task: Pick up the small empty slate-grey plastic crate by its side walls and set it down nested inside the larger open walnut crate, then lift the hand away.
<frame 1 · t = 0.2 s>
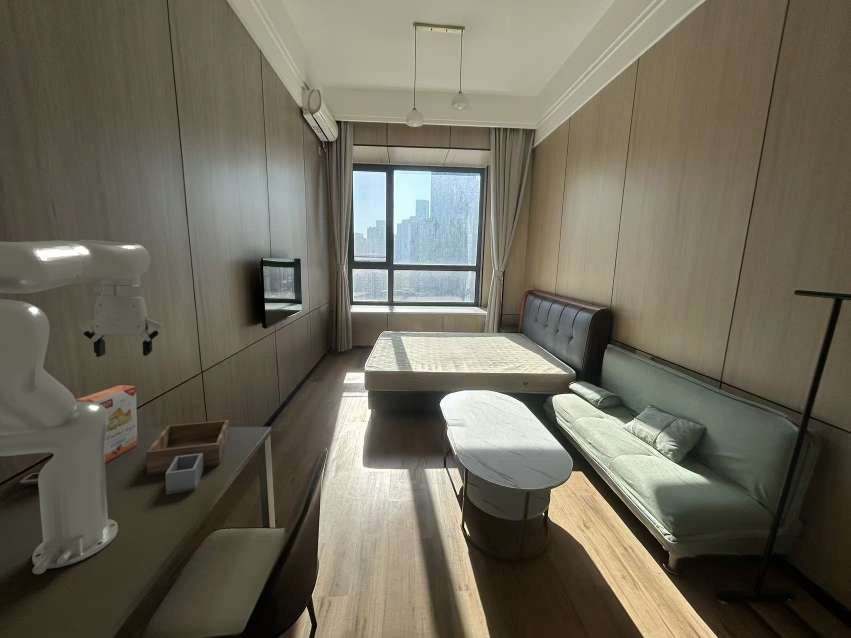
hand: (124, 355, 88), 36 cm above the table, tool pointing down, fingers open, 9 cm apart
cracker box: (110, 456, 103), on the table
small crate: (185, 482, 93), on the table
big crate: (192, 454, 107), on the table
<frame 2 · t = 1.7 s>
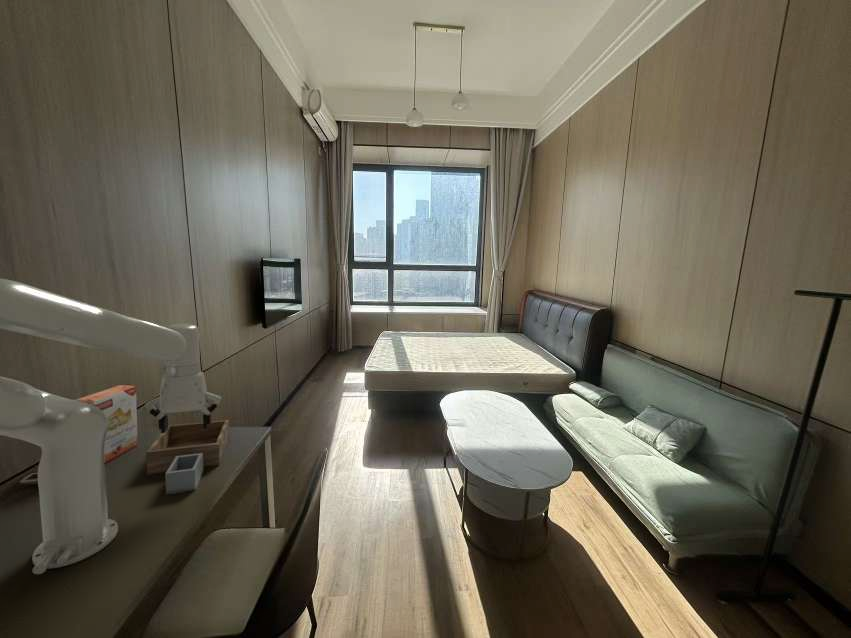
hand: (186, 428, 91), 16 cm above the table, tool pointing down, fingers open, 9 cm apart
nothing on the table moved.
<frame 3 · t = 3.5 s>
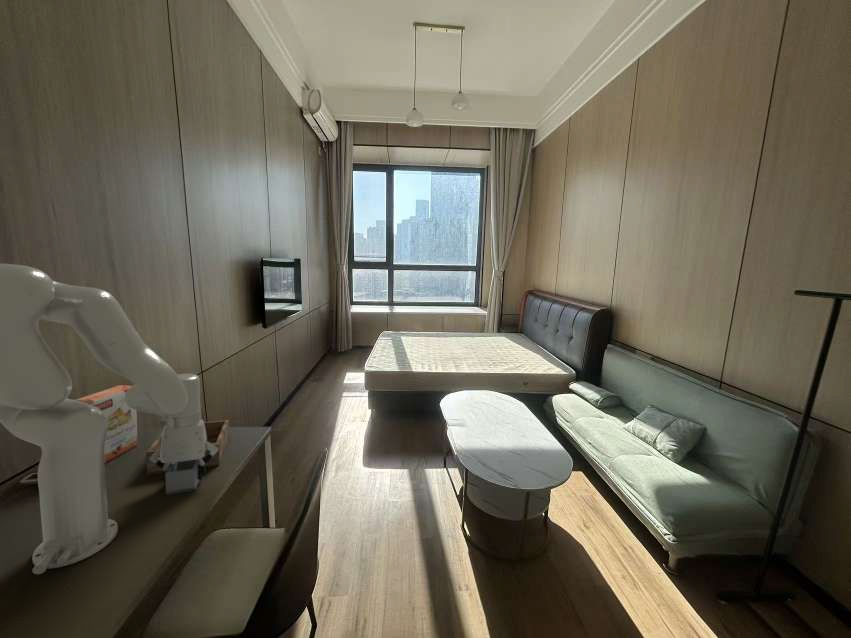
hand: (185, 478, 93), 1 cm above the table, tool pointing down, fingers closed on small crate, 6 cm apart
small crate: (185, 482, 93), on the table, touching gripper
everything else where it was.
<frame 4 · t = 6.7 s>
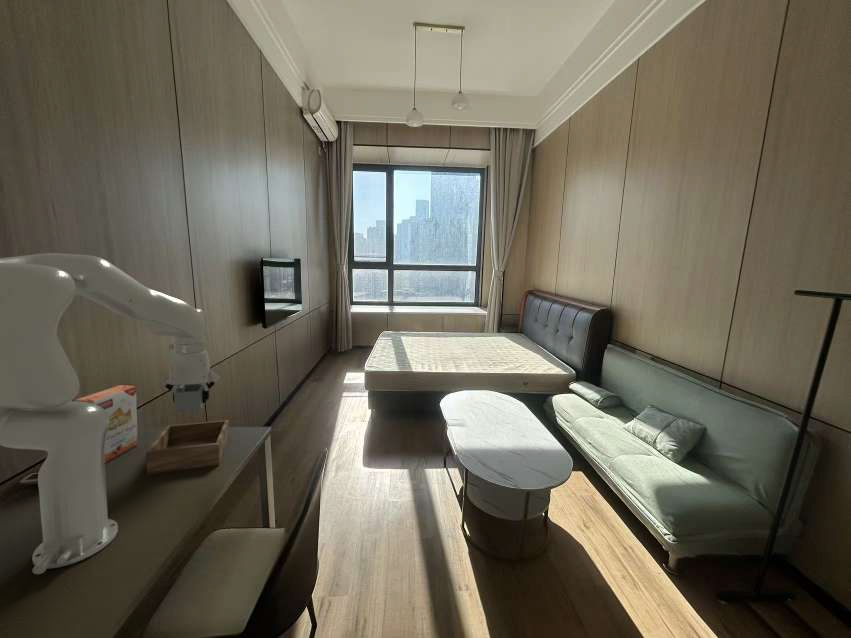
hand: (191, 402, 104), 18 cm above the table, tool pointing down, fingers closed on small crate, 6 cm apart
small crate: (191, 405, 105), point 17 cm above the table, touching gripper
everything else where it was.
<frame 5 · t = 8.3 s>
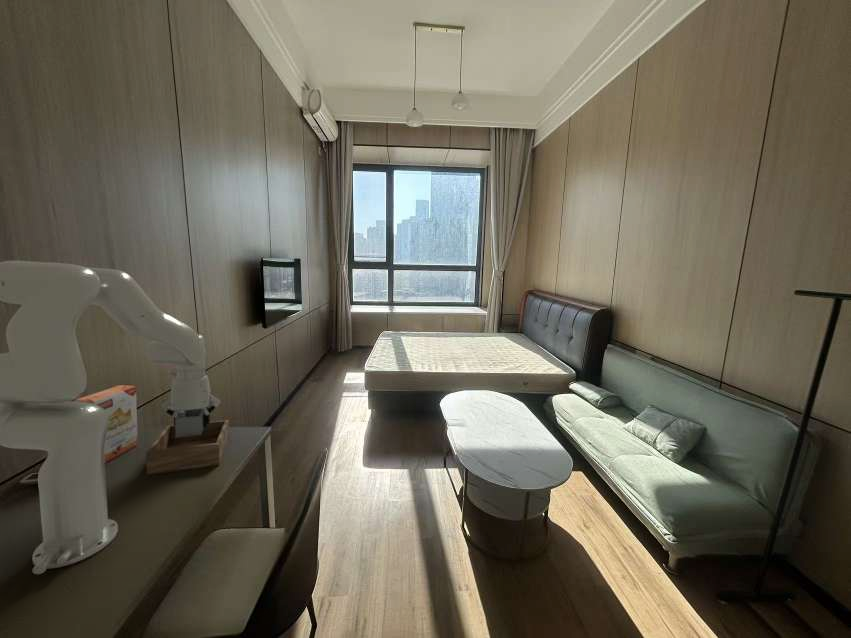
hand: (192, 426, 106), 10 cm above the table, tool pointing down, fingers closed on small crate, 6 cm apart
small crate: (192, 429, 106), point 8 cm above the table, touching gripper
everything else where it was.
when the fingers open (4 cm above the table, at t = 9.8 s): small crate drops 2 cm, resting on big crate.
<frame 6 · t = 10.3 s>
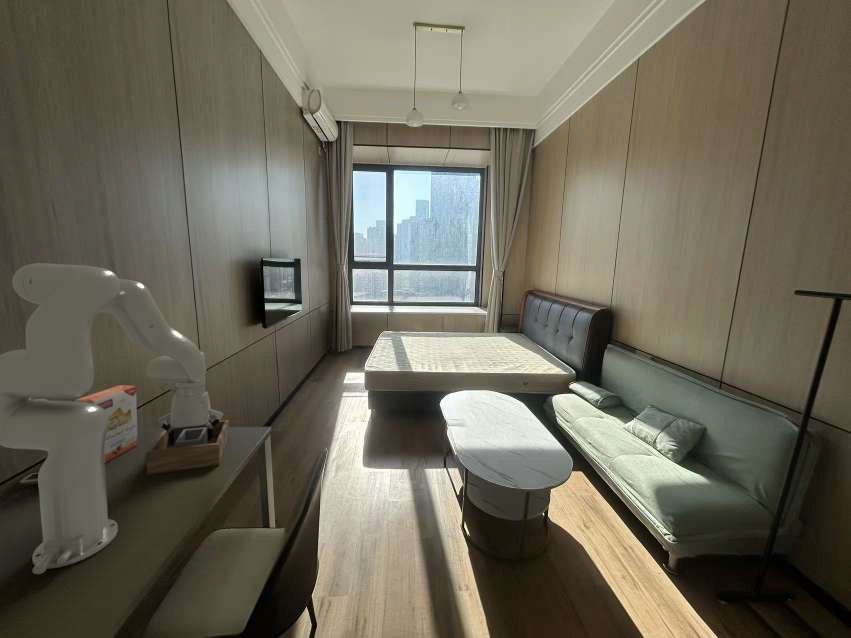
hand: (192, 440, 106), 5 cm above the table, tool pointing down, fingers open, 9 cm apart
small crate: (192, 451, 107), point 1 cm above the table, touching big crate
everything else where it was.
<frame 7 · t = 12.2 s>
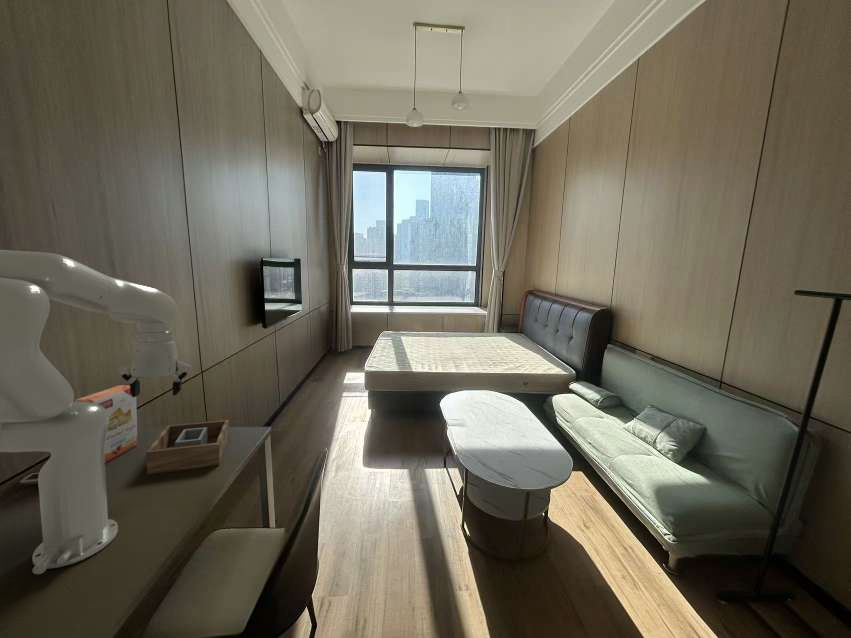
hand: (156, 394, 96), 23 cm above the table, tool pointing down, fingers open, 9 cm apart
nothing on the table moved.
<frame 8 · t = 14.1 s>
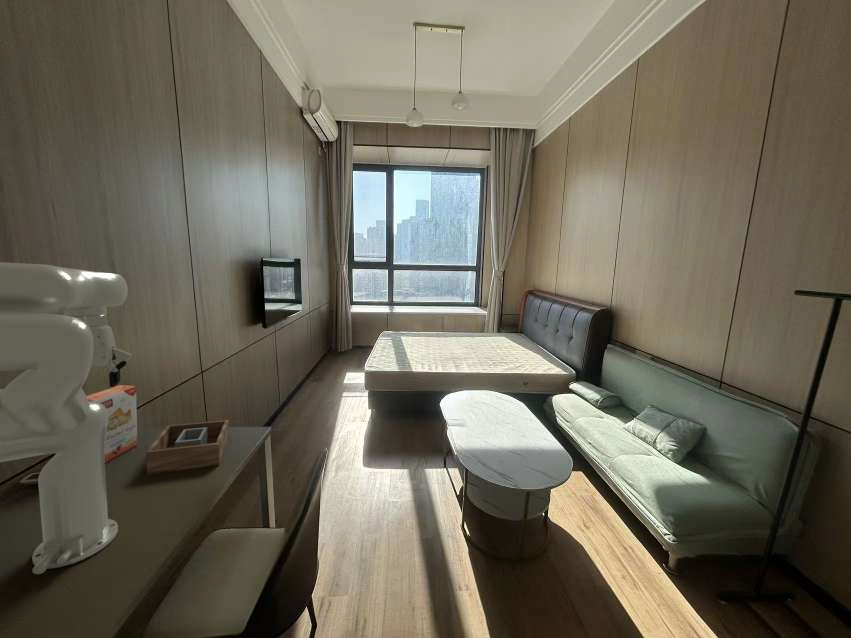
hand: (90, 386, 85), 28 cm above the table, tool pointing down, fingers open, 9 cm apart
nothing on the table moved.
at the end: small crate inside the target area on the big crate (0.1 cm from its centre), point 1.0 cm above the big crate's base; small crate tilted 0°; the gripper is holding nothing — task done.
